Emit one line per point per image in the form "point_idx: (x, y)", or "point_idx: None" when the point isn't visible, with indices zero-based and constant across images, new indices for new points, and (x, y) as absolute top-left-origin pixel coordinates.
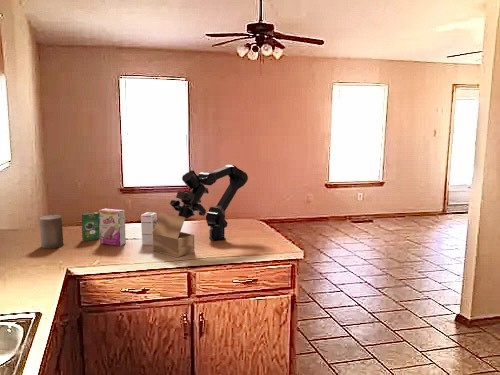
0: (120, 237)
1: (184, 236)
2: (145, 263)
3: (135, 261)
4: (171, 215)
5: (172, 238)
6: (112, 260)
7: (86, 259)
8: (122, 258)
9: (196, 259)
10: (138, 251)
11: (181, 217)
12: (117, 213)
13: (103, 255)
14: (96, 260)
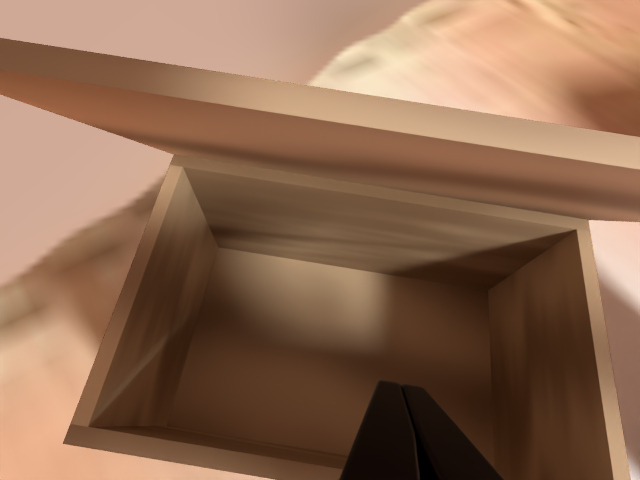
0: None
1: (274, 454)
2: (320, 76)
3: (394, 78)
4: (497, 122)
5: (252, 168)
6: (506, 47)
7: (615, 14)
8: (498, 86)
9: (50, 272)
10: None
11: (46, 53)
12: None
13: (627, 82)
14: (565, 21)
